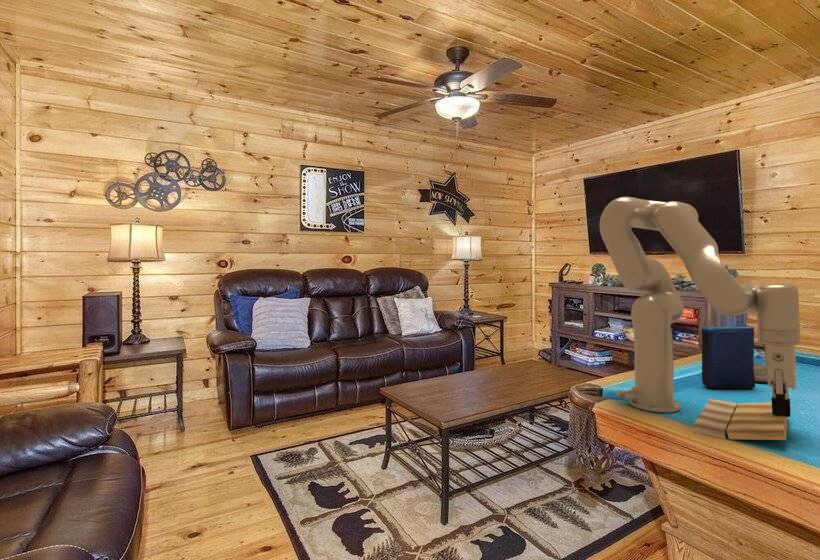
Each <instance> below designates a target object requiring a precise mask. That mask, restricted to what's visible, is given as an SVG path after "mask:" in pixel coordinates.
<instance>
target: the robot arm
mask: <svg viewBox="0 0 820 560" xmlns="http://www.w3.org/2000/svg"><path fill="white" fill-rule="evenodd" d="M632 228H634V229H635V228H636V229H637V228H638V229H643V230H652V231H657V232H660V234H661V235H662V237H663V238H664V239H665V240H666V241H667V243H668V244H669V245H670V246H671V248H672V249H673V250H674V251H675V253H676V254H677V255H678V256H679V259H681V261H682V262H683V264H684V267H685V269H686V271H687V273H688V274H689V277H690V278H691V281H692V282H693V283H694V285H695V287H696V288H697V290H698V291H699V293H700V294H701V295H702V296H703V298H704V299H705V300H706V301H707V303H708V304H709V305H710V306H711V307H712V308H713V309H714V310H715V311H716V312H717V313H719V314H721V315H723V316H727V317H736V316H740V315H743V314H746V313H755V312H756V319H757V320H756V322H757V326H756V327H757V328H756V329H757V343H759V344H763V345H764V360H765V361H764V362H765V366H766V374H767V381H768V382H767V385H768V387H770V388H771V389H772V390H771V391H772V392H771V393H772V396H771V402H772V414H773V415H777V416H785V417H788V418H790V417H791V398H789V397H790V396H789V389H790V388H791V389H792V390H795V389H797V364H796V363H797V360H796V350H795V348H796V347H795V346H798V345H801V330H800V329H801V328H800V327H801V326H800V301H799V300H800V298H799V289H798V287H797V286H796V285H795V284H791V283H765V284H754V283H753V284H752V283H745V282H743V283H742V282H741V283H740V282H737V281H736V280H735V279H734V277H733V276H732V275H731V273H730V272H729V271H728V269H727V268H726V267H725V265H724V264H723V261H722V260H721V258H720V255H719V246H718V244H717V242H716V241H715V239H714V238H713V237H712V236H711V234H710V233H709V232H708V231H707V230H706V228H705V227H704V226H703V225H702V224H701V222H699V213H698V211H697V209H696V208H695V207H693V206H692V205H690V204H689V203H685V202H681V201H675V200H674V201H673V200H672V201H667V202H666V201H658V200H657V201H656V200H648V199H642V198H637V197H631V196H621V197H618V198H615V199H613V200H612V201H610V202H609V203H608V204H607V205H606V206H605V207H604V209H603V211H602V212H601V216H600V219H599V232H600V236H601V239H602V241H603V243H604V245H605V247H606V250H607V253H608V254H609V256H610V259H611V262H612V264H613V266H614V267H615V270H616V273H617V274H618V278H619V280H620V281H621V284H622V286H623V287H624V288H626V289H627V290H628V291H631V292H639V293H640V295H641V296H640V297H638V298H637V299H636V300H635V301H634V302H633V304H632V306H631V311H630V315H631V316H630V318H631V323H632V330H633V341H634V342H633V343H634V346H633V347H634V386H630V387H631V388H630V389H628V390H616V397H617V398H625V400H628V404H630V405H631V407H633V408H636V409H639V410H642V411H646V412H652V413H662V414H663V413H675V412H678V411H680V409H681V404H680V403H679V402H678V401H677V400H675V399H674V396H675V395H674V391H675V390H674V387H675V386H674V385H675V384H674V338H673V334H672V333H673V332H672V328H671V327H672V326H671V324H674V323H675V322H677V321H678V320H680V319H681V317H682V315H683V313H684V303H683V300H682V299H681V296H680V294H679V292H678V290H677V288H676V286H675V284H674V282H673V279H672V278H671V275H670V274H669V272H668V270H667V268H666V267H665V265H664V264H662V263H661V261H659V260H657V259H654V258H648V257H647V255H646V253H645V251H644V250H643V247H642V245H641V243H640V241H639V239H638V238H637V236H636V235H635V234H634V232H633V230H632Z"/></svg>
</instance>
